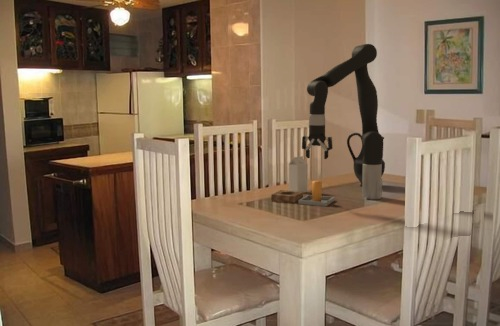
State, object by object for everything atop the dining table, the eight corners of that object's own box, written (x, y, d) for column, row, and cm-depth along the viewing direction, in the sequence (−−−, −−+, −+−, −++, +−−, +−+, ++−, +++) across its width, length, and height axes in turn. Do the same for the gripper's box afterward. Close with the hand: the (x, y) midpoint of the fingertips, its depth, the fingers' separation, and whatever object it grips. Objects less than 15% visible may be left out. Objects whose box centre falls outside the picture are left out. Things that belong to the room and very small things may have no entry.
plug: (322, 201, 242) (322, 181, 240) (319, 203, 238) (319, 182, 236) (313, 200, 244) (313, 180, 242) (310, 202, 240) (310, 181, 238)
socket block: (303, 199, 250) (303, 191, 250) (294, 204, 239) (294, 196, 239) (280, 197, 255) (280, 190, 255) (271, 202, 245) (271, 194, 244)
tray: (334, 202, 244) (334, 196, 244) (326, 207, 232) (326, 202, 232) (307, 199, 250) (307, 194, 249) (298, 205, 238) (298, 200, 237)
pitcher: (385, 189, 273) (386, 134, 269) (346, 188, 277) (346, 134, 273) (383, 183, 290) (384, 131, 286) (346, 182, 294) (347, 131, 290)
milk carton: (288, 192, 270) (288, 156, 267) (298, 190, 274) (298, 155, 271) (297, 194, 264) (297, 158, 262) (307, 192, 268) (307, 156, 266)
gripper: (334, 123, 236) (333, 158, 238) (305, 123, 242) (305, 156, 244) (329, 124, 229) (329, 160, 231) (299, 124, 235) (299, 158, 238)
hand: (316, 158), depth 238 cm, fingers open, 8 cm apart
